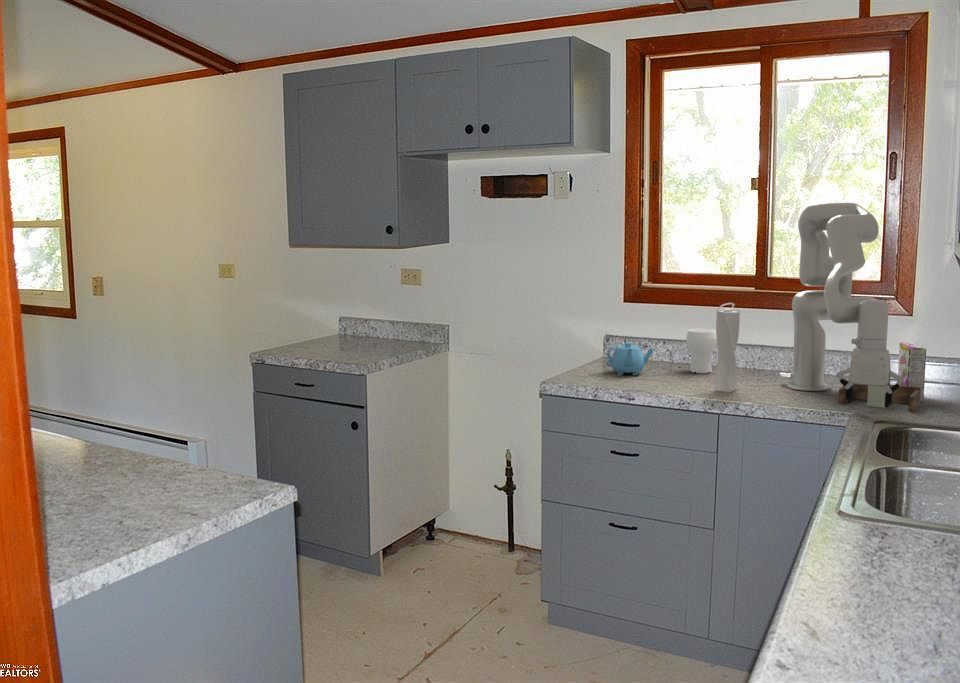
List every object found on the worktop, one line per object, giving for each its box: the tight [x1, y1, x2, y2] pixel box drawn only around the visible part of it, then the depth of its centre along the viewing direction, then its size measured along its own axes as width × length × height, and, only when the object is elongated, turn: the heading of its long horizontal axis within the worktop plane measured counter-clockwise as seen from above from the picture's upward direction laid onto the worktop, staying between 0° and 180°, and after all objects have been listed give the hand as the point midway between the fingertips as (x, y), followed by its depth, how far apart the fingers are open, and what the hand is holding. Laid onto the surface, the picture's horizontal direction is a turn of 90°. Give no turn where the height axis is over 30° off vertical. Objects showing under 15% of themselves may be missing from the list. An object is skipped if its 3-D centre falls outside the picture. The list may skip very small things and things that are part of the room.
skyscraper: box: [714, 302, 741, 393], centre depth 272 cm, size 8×8×28 cm
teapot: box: [606, 341, 654, 376], centre depth 304 cm, size 15×14×11 cm
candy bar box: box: [897, 341, 927, 403], centre depth 257 cm, size 11×5×16 cm, turn 168°
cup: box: [685, 328, 717, 374], centre depth 305 cm, size 11×11×15 cm
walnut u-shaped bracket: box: [837, 380, 921, 413], centre depth 250 cm, size 20×12×5 cm, turn 54°
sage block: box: [866, 381, 891, 408], centre depth 249 cm, size 5×5×8 cm
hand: (868, 404), depth 238 cm, fingers open, 9 cm apart
